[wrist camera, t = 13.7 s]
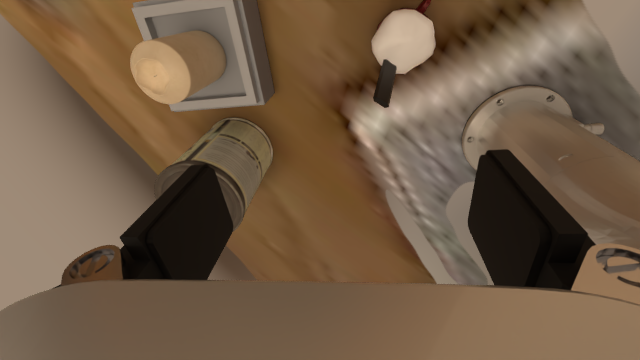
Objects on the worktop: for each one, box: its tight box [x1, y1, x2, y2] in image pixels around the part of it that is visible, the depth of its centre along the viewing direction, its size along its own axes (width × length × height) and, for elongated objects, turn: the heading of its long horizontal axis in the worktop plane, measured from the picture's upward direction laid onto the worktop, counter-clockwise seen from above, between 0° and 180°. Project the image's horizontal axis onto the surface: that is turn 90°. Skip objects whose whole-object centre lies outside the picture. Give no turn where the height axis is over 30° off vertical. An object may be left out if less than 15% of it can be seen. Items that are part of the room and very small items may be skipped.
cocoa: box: [371, 0, 436, 108], centre depth 30 cm, size 10×6×12 cm, turn 128°
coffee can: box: [154, 118, 273, 231], centre depth 39 cm, size 10×10×14 cm
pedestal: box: [132, 0, 275, 112], centre depth 35 cm, size 12×12×6 cm
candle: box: [130, 30, 226, 104], centre depth 29 cm, size 6×6×10 cm
